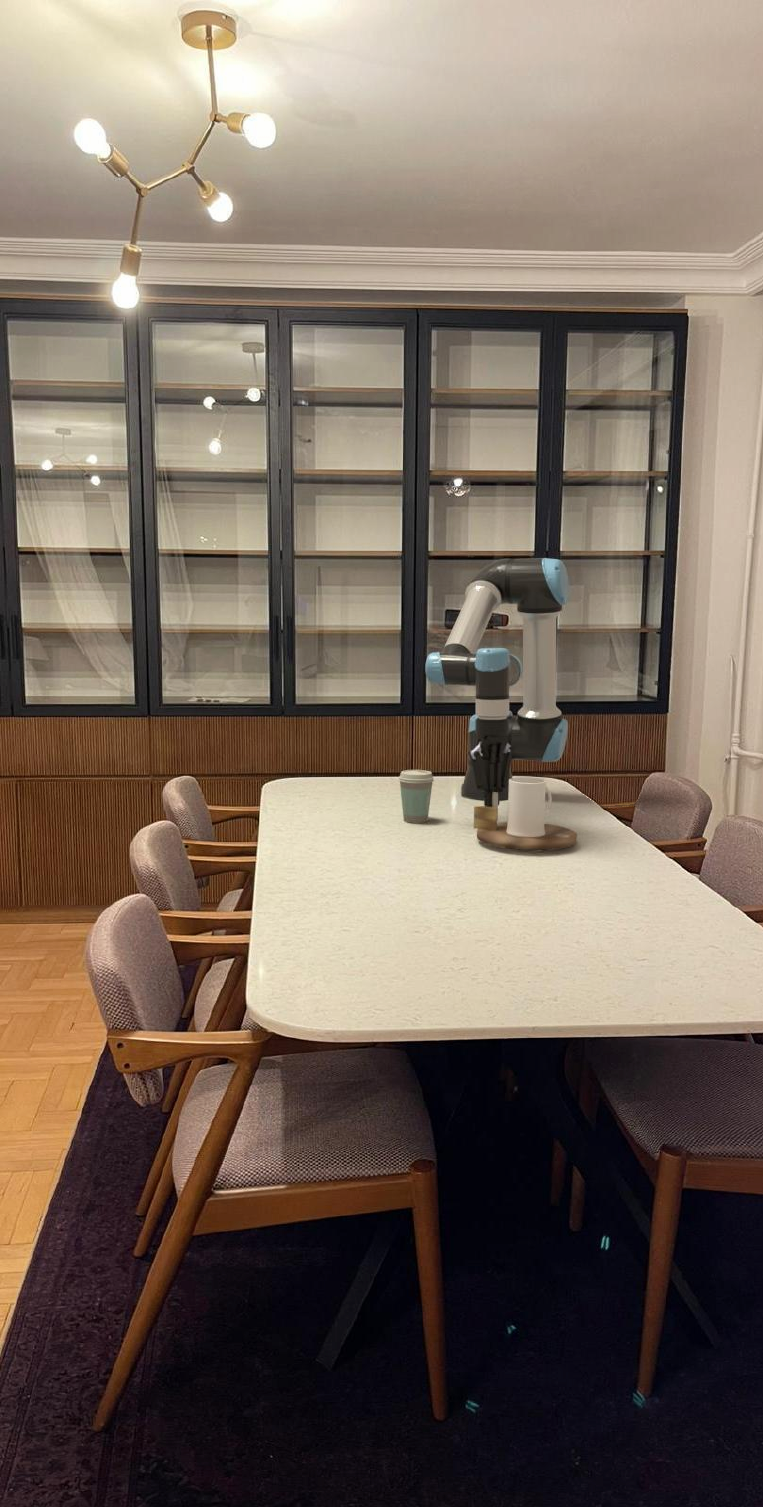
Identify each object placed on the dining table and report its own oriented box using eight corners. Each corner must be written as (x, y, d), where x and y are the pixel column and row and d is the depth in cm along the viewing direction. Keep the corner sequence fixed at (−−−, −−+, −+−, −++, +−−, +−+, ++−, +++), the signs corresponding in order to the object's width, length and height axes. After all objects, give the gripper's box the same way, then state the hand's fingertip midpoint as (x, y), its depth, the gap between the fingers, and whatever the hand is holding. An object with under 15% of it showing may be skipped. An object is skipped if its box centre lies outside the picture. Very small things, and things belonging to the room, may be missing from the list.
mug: (539, 826, 238) (541, 774, 236) (564, 833, 230) (566, 780, 229) (498, 831, 232) (499, 778, 230) (522, 839, 224) (524, 784, 223)
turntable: (584, 832, 238) (585, 805, 237) (566, 854, 217) (567, 824, 216) (487, 823, 246) (487, 797, 245) (460, 843, 225) (461, 815, 224)
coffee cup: (433, 824, 250) (434, 775, 248) (398, 824, 250) (398, 774, 248) (432, 817, 258) (433, 769, 256) (398, 816, 258) (398, 769, 256)
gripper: (500, 713, 240) (499, 813, 243) (459, 718, 232) (459, 821, 235) (524, 716, 234) (523, 818, 237) (483, 721, 226) (483, 827, 230)
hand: (491, 820), depth 236 cm, fingers closed
